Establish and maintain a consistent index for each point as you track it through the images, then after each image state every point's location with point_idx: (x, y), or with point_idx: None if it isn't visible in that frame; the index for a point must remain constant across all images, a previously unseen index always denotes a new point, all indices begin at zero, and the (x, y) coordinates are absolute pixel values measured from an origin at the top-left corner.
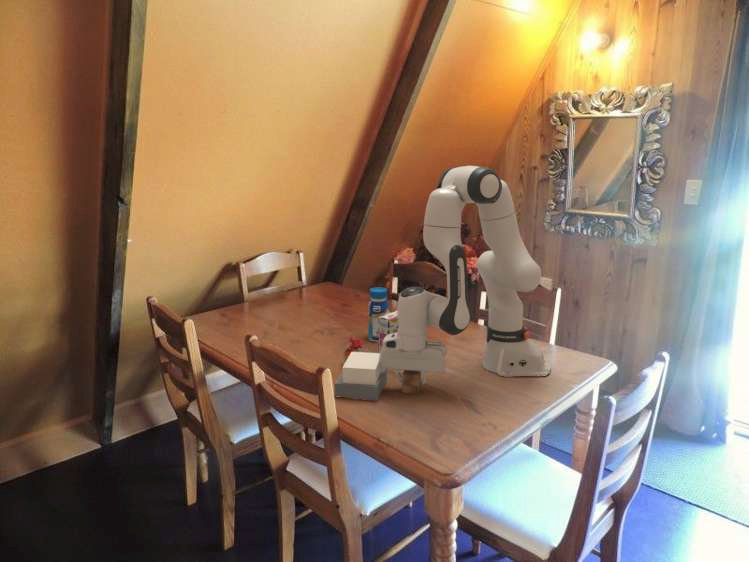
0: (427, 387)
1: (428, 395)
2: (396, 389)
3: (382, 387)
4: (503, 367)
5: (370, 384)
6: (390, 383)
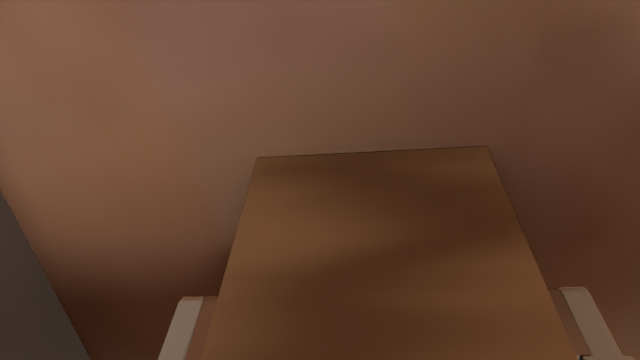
0: (588, 138)
1: None
2: (194, 262)
3: (41, 314)
4: None
5: None
6: (39, 134)
